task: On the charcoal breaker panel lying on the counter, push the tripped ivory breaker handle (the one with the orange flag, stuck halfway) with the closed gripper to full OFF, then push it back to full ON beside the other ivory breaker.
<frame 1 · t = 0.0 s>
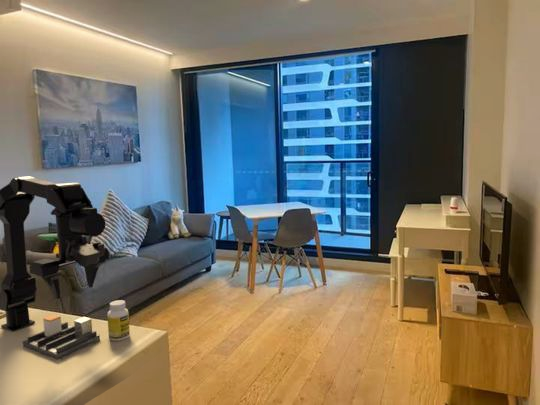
hand: (74, 292, 105), 15 cm above the kitchen counter, fingers open, 9 cm apart
tripped breaker: (52, 326, 111), point 4 cm above the kitchen counter, slide at 0.0 cm
supplement bottle: (119, 337, 113), on the kitchen counter
breaker panel: (62, 343, 109), on the kitchen counter
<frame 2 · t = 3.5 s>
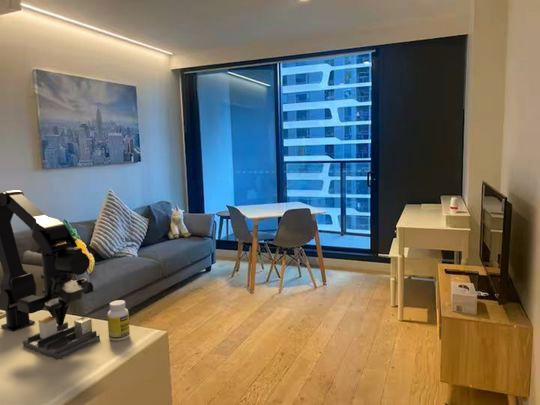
hand: (60, 325, 112), 3 cm above the kitchen counter, fingers closed
tripped breaker: (48, 327, 109), point 4 cm above the kitchen counter, slide at -1.3 cm, touching gripper
everything else where it was.
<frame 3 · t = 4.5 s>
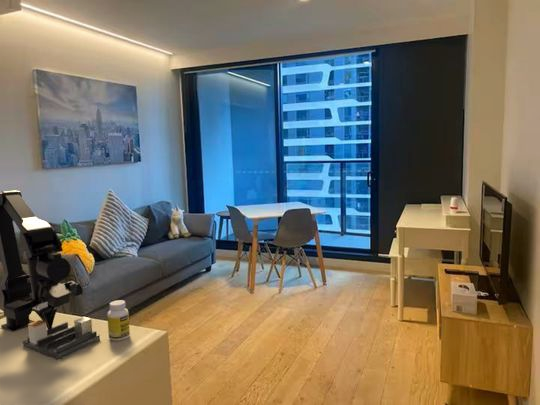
hand: (49, 329, 110), 4 cm above the kitchen counter, fingers closed
tripped breaker: (37, 331, 107), point 4 cm above the kitchen counter, slide at -4.0 cm, touching gripper
everything else where it was.
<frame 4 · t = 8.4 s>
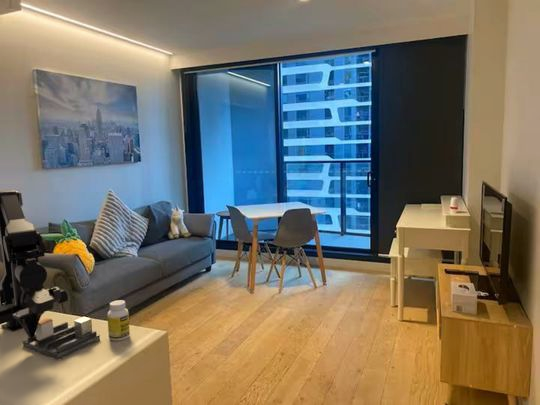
hand: (31, 337, 106), 3 cm above the kitchen counter, fingers closed
tripped breaker: (44, 329, 109), point 4 cm above the kitchen counter, slide at -2.3 cm, touching gripper
everything else where it was.
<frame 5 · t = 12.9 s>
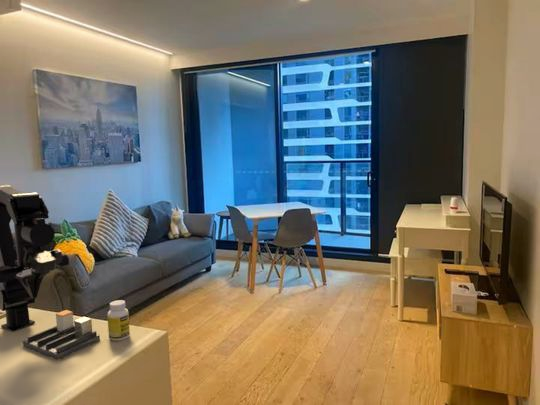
hand: (34, 298, 110), 12 cm above the kitchen counter, fingers closed
tripped breaker: (65, 321, 114), point 4 cm above the kitchen counter, slide at 3.6 cm
everything else where it was.
at the end: tripped breaker slide at 3.6 cm; supplement bottle moved 0.2 cm from its start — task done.
